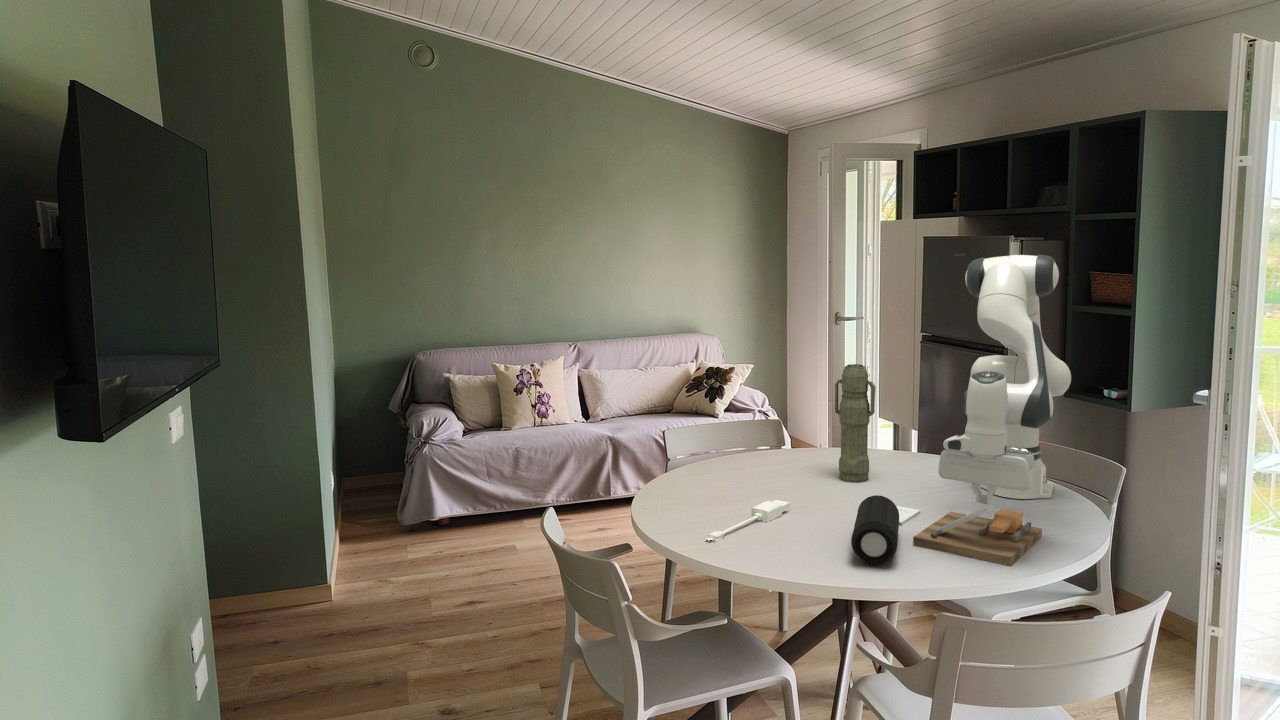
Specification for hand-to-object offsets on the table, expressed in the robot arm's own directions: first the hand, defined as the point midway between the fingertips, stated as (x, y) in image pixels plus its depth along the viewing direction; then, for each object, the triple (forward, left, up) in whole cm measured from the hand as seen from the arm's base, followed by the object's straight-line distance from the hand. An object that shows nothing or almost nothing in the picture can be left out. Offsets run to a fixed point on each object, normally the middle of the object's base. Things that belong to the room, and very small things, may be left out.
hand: (983, 503), depth 191 cm
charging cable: (+16, -53, -12) cm, 57 cm away
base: (-6, -3, -11) cm, 13 cm away
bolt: (-9, +2, -9) cm, 13 cm away
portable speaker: (+13, -20, -12) cm, 27 cm away
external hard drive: (-12, -26, -12) cm, 31 cm away
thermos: (-39, -51, -12) cm, 65 cm away
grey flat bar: (0, -4, -5) cm, 7 cm away
